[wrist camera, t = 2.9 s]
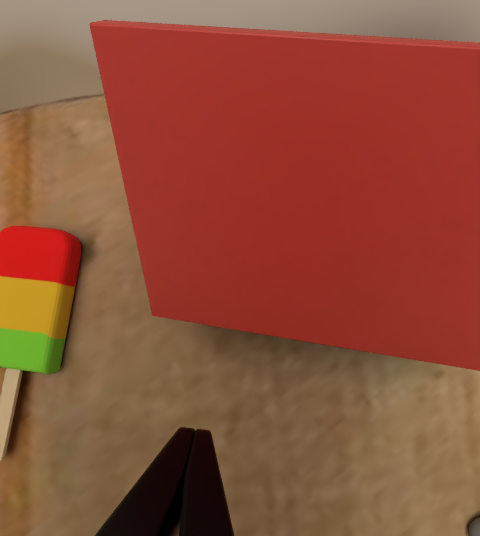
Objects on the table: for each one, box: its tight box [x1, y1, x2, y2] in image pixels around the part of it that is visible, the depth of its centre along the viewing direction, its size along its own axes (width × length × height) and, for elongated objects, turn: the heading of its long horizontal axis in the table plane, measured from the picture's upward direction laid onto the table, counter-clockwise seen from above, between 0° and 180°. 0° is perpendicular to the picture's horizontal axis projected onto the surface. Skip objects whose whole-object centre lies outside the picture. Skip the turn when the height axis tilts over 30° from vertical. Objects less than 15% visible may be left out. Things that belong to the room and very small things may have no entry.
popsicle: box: [0, 226, 82, 461], centre depth 22 cm, size 6×15×2 cm, turn 174°
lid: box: [90, 20, 480, 371], centre depth 11 cm, size 11×15×1 cm
